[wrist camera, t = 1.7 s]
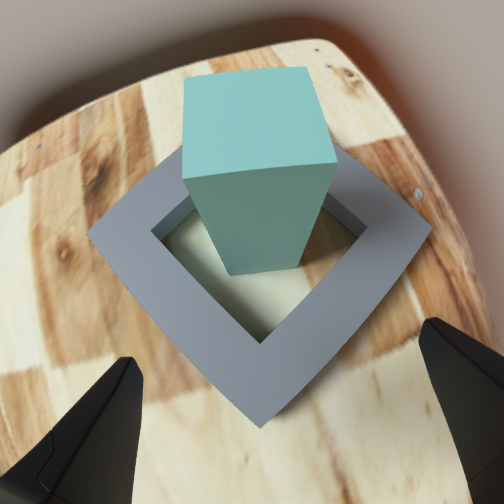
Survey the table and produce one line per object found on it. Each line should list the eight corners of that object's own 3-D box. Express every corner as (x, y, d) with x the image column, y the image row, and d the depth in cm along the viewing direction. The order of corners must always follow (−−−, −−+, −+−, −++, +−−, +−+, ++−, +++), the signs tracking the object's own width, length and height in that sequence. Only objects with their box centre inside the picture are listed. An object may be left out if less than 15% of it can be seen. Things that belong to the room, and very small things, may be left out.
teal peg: (296, 267, 23) (338, 162, 9) (229, 275, 23) (182, 178, 9) (287, 206, 24) (306, 66, 11) (224, 213, 24) (184, 78, 11)
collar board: (419, 238, 23) (433, 227, 21) (260, 419, 20) (260, 428, 17) (257, 108, 27) (256, 90, 25) (100, 243, 24) (86, 233, 22)
